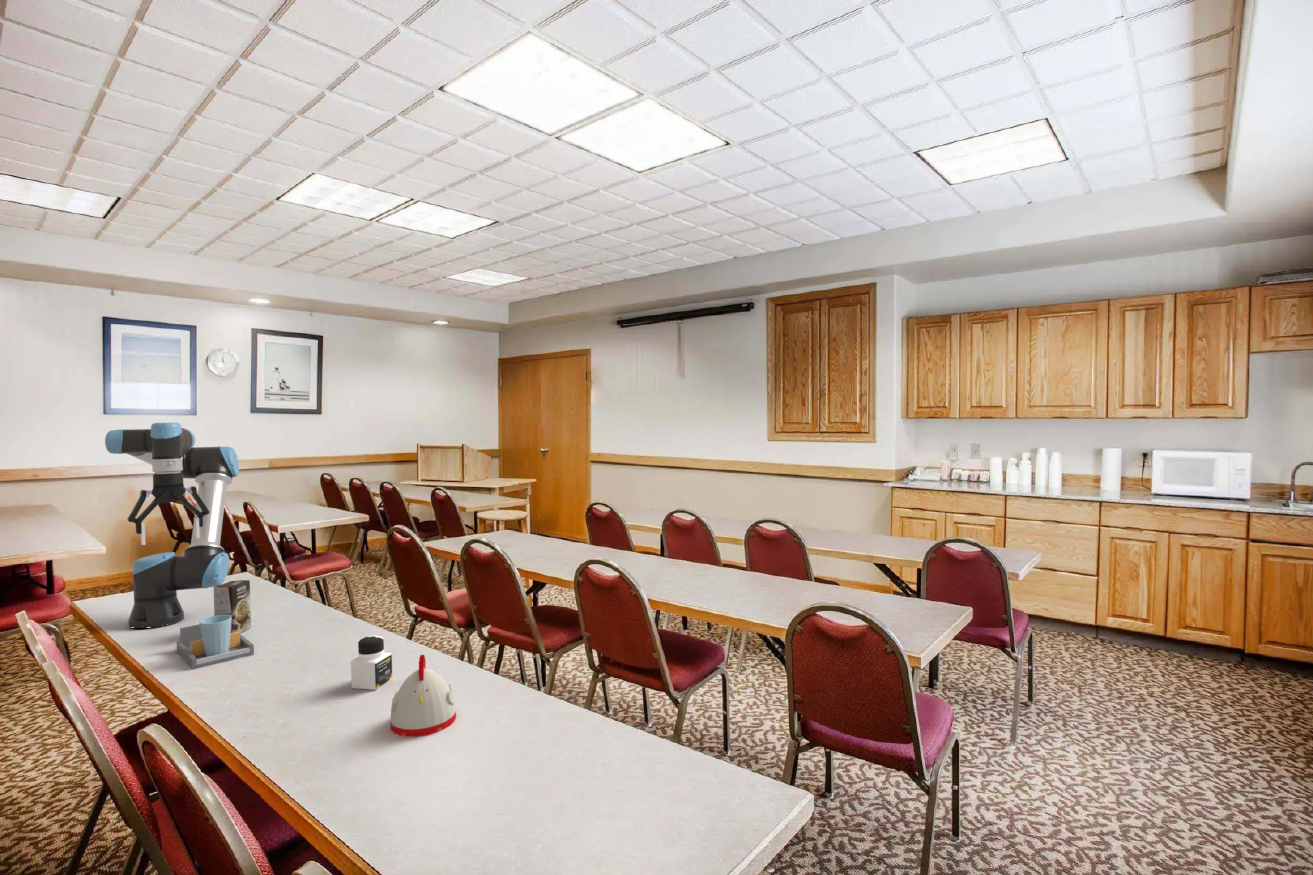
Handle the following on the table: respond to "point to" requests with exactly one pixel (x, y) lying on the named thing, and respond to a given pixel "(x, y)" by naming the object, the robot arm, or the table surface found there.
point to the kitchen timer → (422, 704)
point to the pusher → (198, 645)
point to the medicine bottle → (371, 664)
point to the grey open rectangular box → (200, 661)
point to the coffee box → (234, 603)
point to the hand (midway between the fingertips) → (170, 541)
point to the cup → (216, 634)
